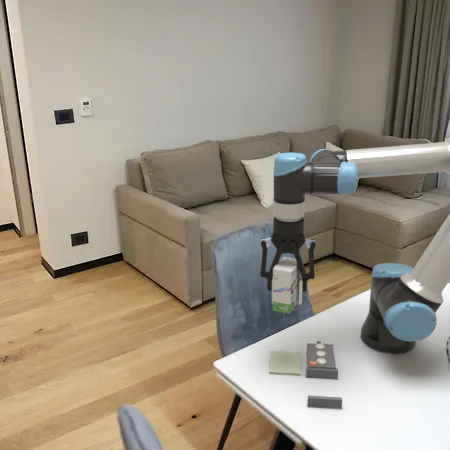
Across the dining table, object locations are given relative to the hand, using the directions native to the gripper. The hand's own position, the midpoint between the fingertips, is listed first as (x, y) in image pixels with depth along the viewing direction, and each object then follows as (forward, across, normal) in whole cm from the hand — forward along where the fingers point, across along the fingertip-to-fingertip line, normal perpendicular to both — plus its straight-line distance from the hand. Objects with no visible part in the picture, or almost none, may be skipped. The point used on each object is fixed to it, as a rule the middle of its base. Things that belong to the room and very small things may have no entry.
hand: (286, 301), depth 133 cm
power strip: (+19, -9, +3) cm, 21 cm away
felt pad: (+19, 0, 0) cm, 19 cm away
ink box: (+1, 0, 0) cm, 1 cm away
